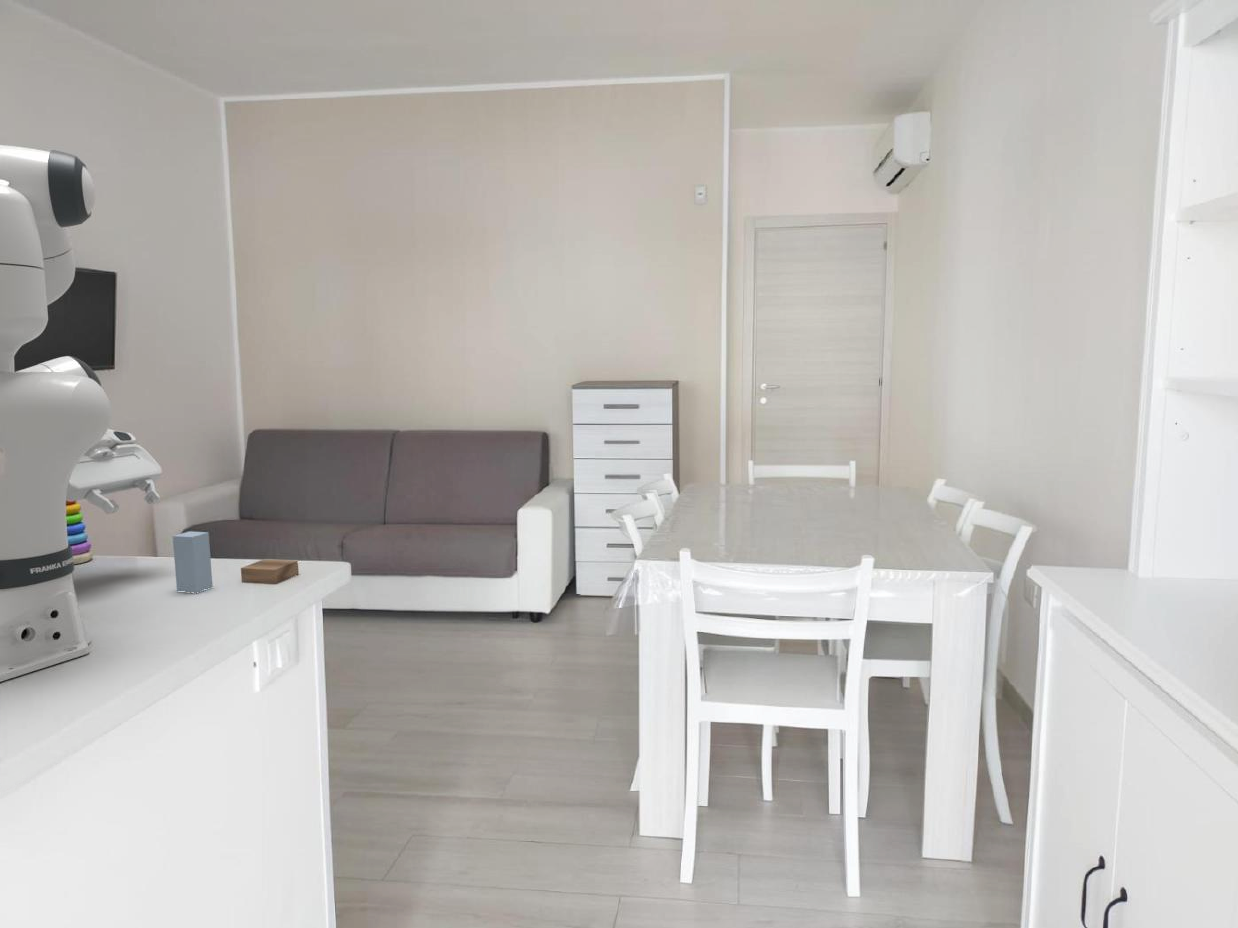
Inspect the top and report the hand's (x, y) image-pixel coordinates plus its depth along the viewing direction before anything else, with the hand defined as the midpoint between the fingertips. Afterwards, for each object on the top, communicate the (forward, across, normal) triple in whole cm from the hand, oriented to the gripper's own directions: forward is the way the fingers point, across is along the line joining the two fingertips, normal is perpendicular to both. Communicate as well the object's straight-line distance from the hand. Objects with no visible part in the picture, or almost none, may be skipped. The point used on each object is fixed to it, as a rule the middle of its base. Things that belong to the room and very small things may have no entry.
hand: (135, 506), depth 157 cm
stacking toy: (-10, +12, +31) cm, 34 cm away
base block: (+24, +10, -3) cm, 26 cm away
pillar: (+18, 0, +2) cm, 18 cm away
